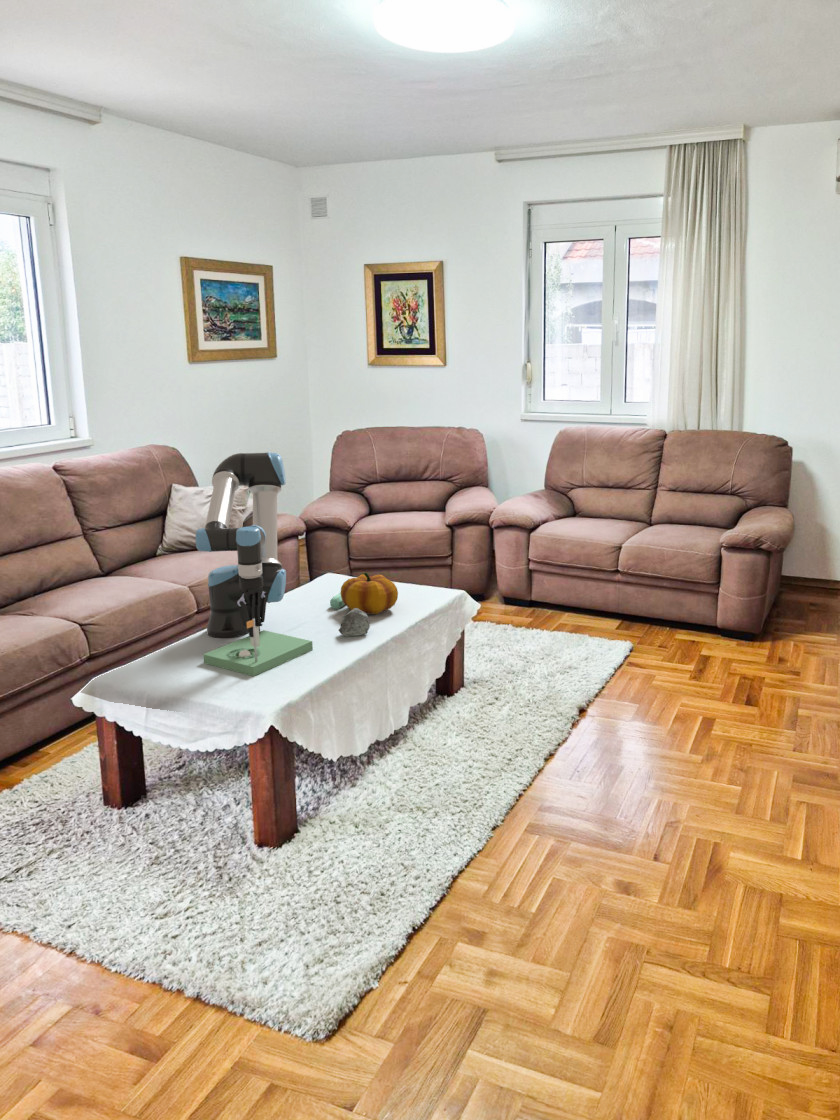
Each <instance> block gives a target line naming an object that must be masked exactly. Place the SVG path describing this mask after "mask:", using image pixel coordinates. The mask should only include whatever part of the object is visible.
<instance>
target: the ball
mask: <svg viewBox="0 0 840 1120" xmlns="http://www.w3.org/2000/svg"><path fill="white" fill-rule="evenodd" d="M250 655H251V653H250V652H249V651H248V650H242V651H241V652H240V653H239V657H246V656H250Z"/></svg>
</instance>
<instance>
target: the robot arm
mask: <svg viewBox="0 0 840 1120" xmlns="http://www.w3.org/2000/svg"><path fill="white" fill-rule="evenodd" d="M286 481H287V480H286V473H285V467H284V462H283V458H282V455H281V454H280V453H278V452H268V451H267V452H251V453H250V452H246V453H242V452H240V453H239V452H238V453H235V454H232V455H230V456H228V457H226V458H224V460H222V461H221V462H220V463H219V465H218V466H216V468H215V470H214V471H213V474H212V478H211V484H212V487H213V488H212V492H211V498H210V501H209V506H208V512H207V515H206V519H205V525H204V527H202V528H198V529H197V530H196V531H195V547H196V549H197V550H198V551H199V552H209V553H212V552H213V553H214V552H236V553H237V565H236V564H233V565H232V564H231V565H224V566H221V567H217V568H215V569H213V570H211V571H210V572H209V573H208V576H207V577H208V578H207V579H208V581H207V582H208V583H207V587H208V595H209V596H208V597H209V606H210V607H209V608H210V613H209V616H208V617H209V618H208V623H207V625H206V633H207V636H209V637H211V638H219V639H231V638H237V637H241V636H245V635H246V634H248V636H249V637H250V642H251V646H254V635H253V627H250V628H248V629H247V622H248V621H251V620H252V619H255V630H256V646H257V647H258V646H260V638H259V635H260V631H261V627H262V626H263V623H265V619H266V618H265V617H266V609H267V603H268V604H270V603H279V602H281V601H282V600H283V599H284V596H285V590H286V586H287V585H286V584H287V570H286V569H284V568H283V566H282V563H281V562H280V561H279V560H278V495H279V493H280V492H282V486H284V485H286ZM242 486H243V487H244V486H245V487H246V486H247V487H248V491H249V492H250V493H251V494H252V525H249V526H242V527H229V525H230V521H231V516H232V510H233V506H234V505H233V504H234V499H235V494H236V491H238V489H239V488H240V487H242Z"/></svg>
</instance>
